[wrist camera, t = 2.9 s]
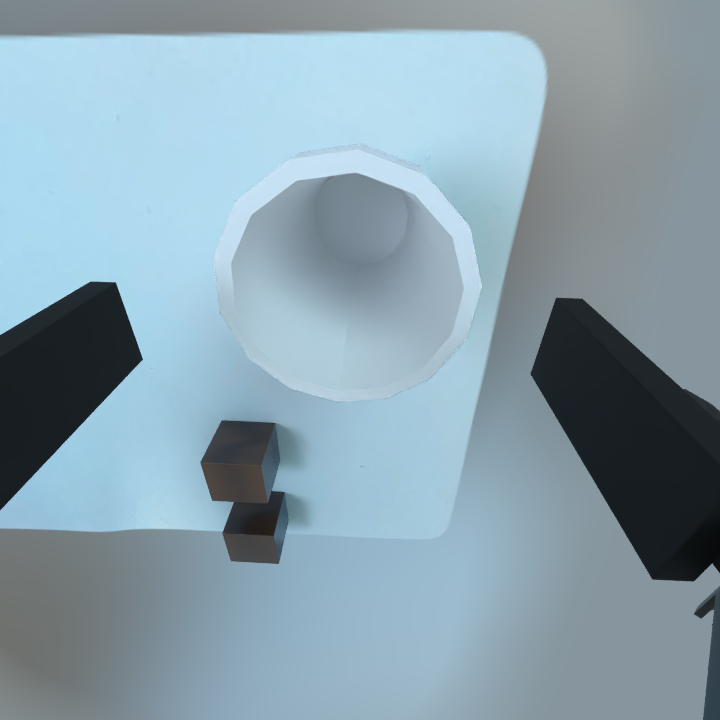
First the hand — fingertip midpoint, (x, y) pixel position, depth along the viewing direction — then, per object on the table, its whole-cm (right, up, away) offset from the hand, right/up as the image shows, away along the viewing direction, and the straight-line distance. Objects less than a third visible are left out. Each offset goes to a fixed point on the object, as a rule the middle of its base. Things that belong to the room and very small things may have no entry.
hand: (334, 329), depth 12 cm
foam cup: (+1, +8, +13) cm, 15 cm away
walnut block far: (-10, -17, +30) cm, 36 cm away
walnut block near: (-10, -9, +24) cm, 28 cm away
